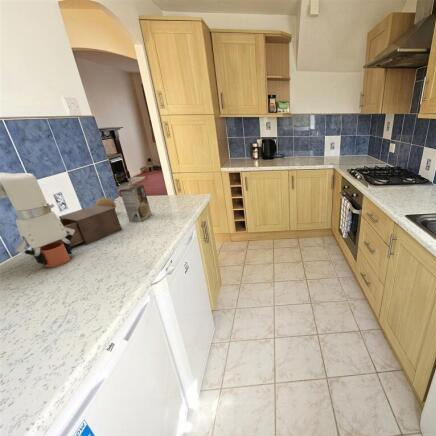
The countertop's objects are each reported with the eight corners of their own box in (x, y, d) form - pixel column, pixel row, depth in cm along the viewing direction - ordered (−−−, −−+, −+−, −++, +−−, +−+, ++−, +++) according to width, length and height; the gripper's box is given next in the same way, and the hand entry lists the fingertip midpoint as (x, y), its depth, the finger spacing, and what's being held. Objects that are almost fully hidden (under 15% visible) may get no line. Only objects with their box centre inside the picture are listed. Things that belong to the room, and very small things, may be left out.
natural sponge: (120, 215, 126) (114, 197, 122) (100, 220, 120) (92, 202, 116) (116, 211, 132) (110, 193, 128) (96, 216, 126) (89, 198, 122)
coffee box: (140, 214, 127) (131, 184, 120) (152, 214, 127) (143, 184, 120) (128, 221, 118) (118, 190, 112) (141, 221, 118) (132, 189, 112)
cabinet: (86, 244, 98) (76, 220, 94) (68, 239, 103) (58, 216, 98) (122, 229, 110) (114, 207, 106) (104, 225, 115) (96, 204, 111)
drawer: (47, 258, 87) (36, 236, 84) (30, 252, 92) (19, 231, 88) (91, 239, 100) (83, 220, 96) (74, 235, 104) (66, 216, 100)
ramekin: (41, 265, 85) (33, 249, 82) (63, 255, 90) (56, 240, 88) (52, 269, 82) (43, 252, 80) (74, 259, 88) (67, 243, 85)
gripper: (59, 202, 87) (77, 245, 94) (-10, 220, 73) (18, 269, 80) (71, 204, 85) (89, 248, 92) (2, 224, 70) (30, 274, 77)
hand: (56, 258), depth 86 cm, fingers closed on ramekin, 6 cm apart
